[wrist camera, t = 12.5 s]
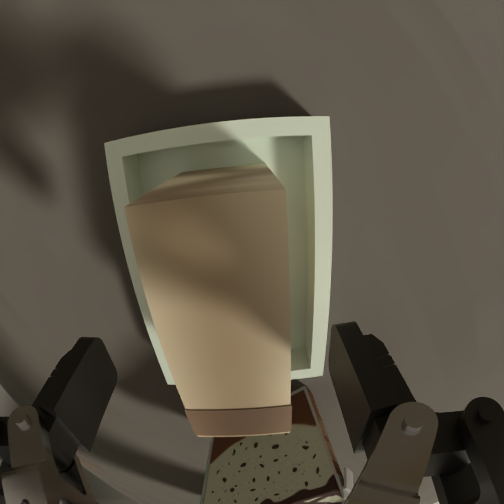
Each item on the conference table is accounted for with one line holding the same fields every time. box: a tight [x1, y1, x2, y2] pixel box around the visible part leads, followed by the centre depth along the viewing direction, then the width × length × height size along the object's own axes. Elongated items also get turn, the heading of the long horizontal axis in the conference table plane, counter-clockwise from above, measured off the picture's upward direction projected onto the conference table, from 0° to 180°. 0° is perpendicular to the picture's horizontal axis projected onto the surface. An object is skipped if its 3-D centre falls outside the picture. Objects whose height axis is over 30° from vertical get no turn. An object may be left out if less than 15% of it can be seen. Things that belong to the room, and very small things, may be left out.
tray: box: [104, 116, 332, 385], centre depth 14 cm, size 14×10×2 cm
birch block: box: [124, 163, 292, 437], centre depth 12 cm, size 4×10×7 cm, turn 5°
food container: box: [200, 385, 353, 504], centre depth 17 cm, size 12×6×10 cm, turn 127°
